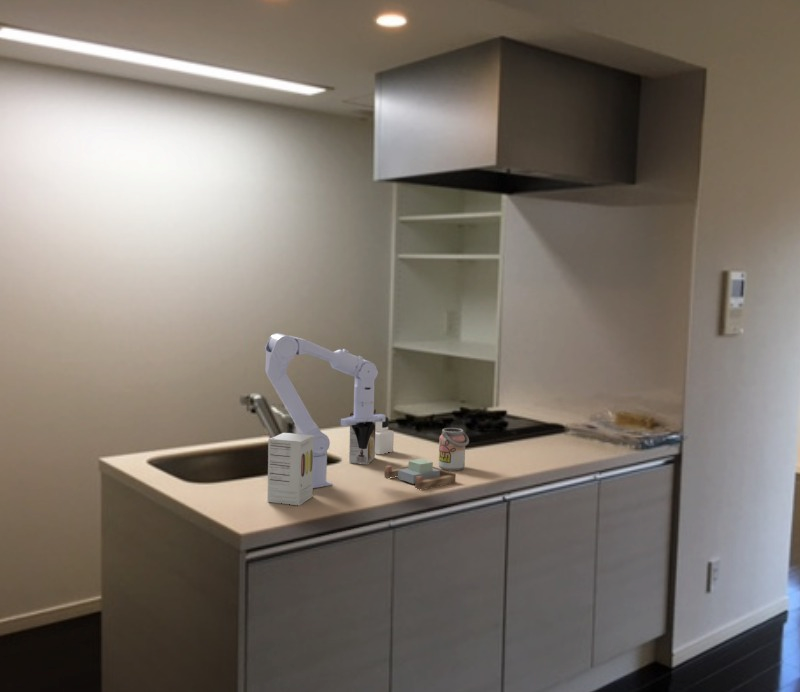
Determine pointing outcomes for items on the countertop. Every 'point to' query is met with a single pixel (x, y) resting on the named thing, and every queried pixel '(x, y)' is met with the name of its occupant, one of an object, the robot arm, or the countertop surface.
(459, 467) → the soda can pail
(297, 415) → the robot arm
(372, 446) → the coffee box
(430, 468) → the stacked grey base
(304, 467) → the supplement box
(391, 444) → the medicine bottle
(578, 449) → the countertop surface
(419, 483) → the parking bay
